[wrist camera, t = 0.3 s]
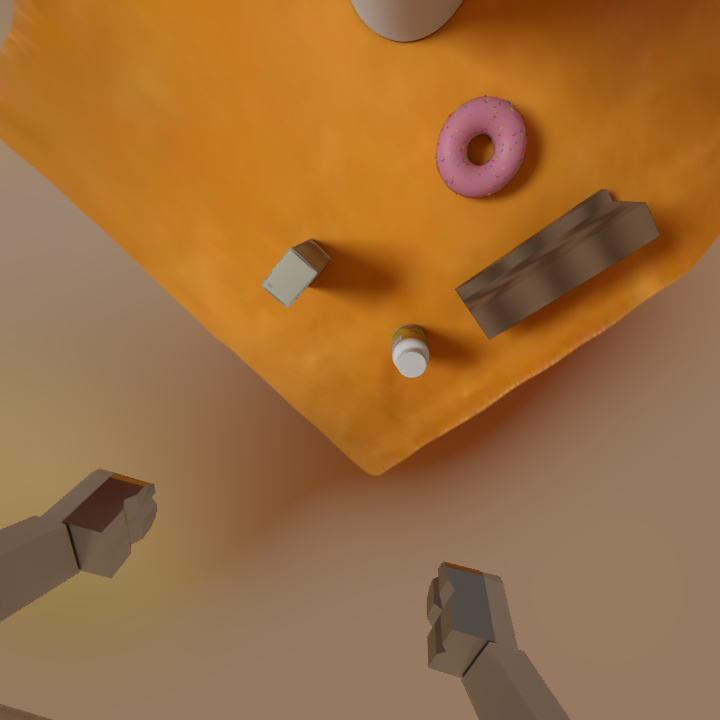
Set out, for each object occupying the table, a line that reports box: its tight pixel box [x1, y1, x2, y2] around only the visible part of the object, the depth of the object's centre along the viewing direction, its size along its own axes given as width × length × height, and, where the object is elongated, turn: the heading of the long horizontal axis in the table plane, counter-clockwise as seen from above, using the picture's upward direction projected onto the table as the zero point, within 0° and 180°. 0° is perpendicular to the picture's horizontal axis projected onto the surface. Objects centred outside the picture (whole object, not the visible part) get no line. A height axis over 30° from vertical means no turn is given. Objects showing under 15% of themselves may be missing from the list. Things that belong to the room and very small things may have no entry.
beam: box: [455, 189, 660, 340], centre depth 47 cm, size 22×8×8 cm, turn 128°
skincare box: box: [261, 239, 331, 308], centre depth 48 cm, size 6×4×12 cm
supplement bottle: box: [392, 324, 429, 378], centre depth 53 cm, size 5×5×10 cm
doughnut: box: [435, 95, 528, 198], centre depth 44 cm, size 11×11×4 cm
